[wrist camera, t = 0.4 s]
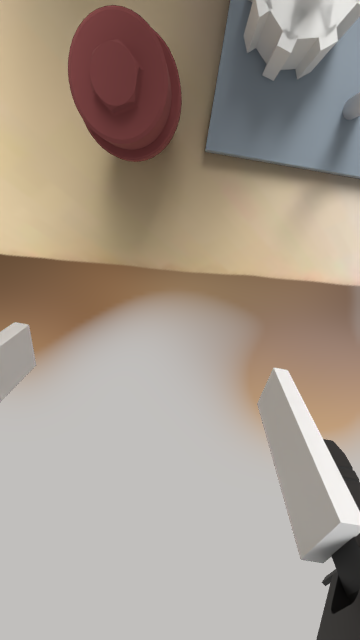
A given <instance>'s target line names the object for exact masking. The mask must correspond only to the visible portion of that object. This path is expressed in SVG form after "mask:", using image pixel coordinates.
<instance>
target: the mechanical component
mask: <svg viewBox="0 0 360 640" xmlns="http://www.w3.org/2000/svg"><path fill="white" fill-rule="evenodd" d="M68 76H69V84H70V89H71V93H72V96H73V100H74V102H75V105H76V107H77V109H78V111H79V113H80V115H81V117H82V118H83V120H84V122H85V125H86V127H87V129H88V130H89V132H90V133H91V135H92V136H93V138H94V139H95V140H96V142H97V143H98V144H99V145H100V146H101V147H102V148H103V149H105V150H106V151H107V152H109V153H110V154H112V155H114V156H116V157H118V158H120V159H123V160H126V161H133V162H138V161H144V160H148V159H150V158H153V157H154V156H156V155H157V154H159V153H160V152H161V151H162V150H163V149H164V148H165V147H166V146H167V145H168V144H169V142H170V140H171V139H172V137H173V135H174V133H175V131H176V129H177V126H178V122H179V119H180V113H181V104H182V97H181V86H180V79H179V74H178V70H177V67H176V63H175V60H174V58H173V56H172V54H171V52H170V50H169V48H168V46H167V45H166V43H165V42H164V40H163V39H162V38H161V37H160V36H159V34H158V33H156V32H155V31H154V30H153V29H152V28H151V27H150V26H149V24H148V23H147V22H146V21H145V20H144V19H143V18H142V17H141V16H140V15H138V14H137V13H135V12H134V11H132V10H130V9H128V8H125V7H123V6H116V5H111V6H104V7H101V8H98V9H96V10H95V11H93V12H92V13H90V14H89V15H88V16H87V17H86V18H85V19H84V20H83V21H82V23H81V24H80V25H79V27H78V28H77V31H76V33H75V35H74V37H73V40H72V43H71V46H70V52H69V58H68Z"/></svg>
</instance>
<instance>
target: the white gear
mask: <svg viewBox="0 0 360 640" xmlns="http://www.w3.org/2000/svg"><path fill="white" fill-rule="evenodd" d="M249 1H251V2H252V6H251V10H250V14H249V17H248V21H247V25H246V28H245V32H244V40H245V45H246V49H247V53H249V52H250V51H252V50H253V49H255V48H256V49H257V50H258V52H259V53H260V55H261V56H262V58H263V59H264V61H265V63H266V67H265V69H264V72H263V74H262V75H263V76H265V77H267V78H269V79H270V80H272V81H274V79H275V78H276V76H277V75H278V73H279V72H280V70H289V69H295V70H296V76H297V79H299V78H301V77H303V76H304V75H306V74H308V73H310V72H311V71H312V70H313V69H314V68H315V67H316V65H317V64H318V63H319V62H320V61H321V60H322V59H323V57H324V56H325V55H326V54H327V53H328V52H329V51H330V49H331V48H332V47H333V46H334V45H335V44H336V43H337V42H338V40H339V39H340V38H341V37H342V36H343V35H344V34H345V32H346V31H347V30H348V29H349V28H350V27H351V26H352V25H353V23H354V22H355V21H356V20H357V19H358V18H359V17H360V0H249Z"/></svg>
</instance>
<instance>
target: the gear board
mask: <svg viewBox="0 0 360 640" xmlns="http://www.w3.org/2000/svg"><path fill="white" fill-rule="evenodd" d="M251 6H252V2H251V1H249V0H230V5H229V11H228V17H227V23H226V29H225V35H224V41H223V47H222V53H221V59H220V65H219V71H218V77H217V83H216V89H215V95H214V101H213V107H212V113H211V119H210V125H209V131H208V137H207V143H206V149H205V152H209V153H215V154H221V155H227V156H232V157H238V158H244V159H249V160H255V161H261V162H267V163H272V164H278V165H284V166H289V167H295V168H301V169H307V170H312V171H318V172H324V173H329V174H335V175H341V176H347V177H352V178H358V179H360V17H359V18H358V19H357V20H356V21H355V22H354V23H353V25H352V26H351V27H350V28H349V29H348V30H347V31H346V32H345V34H344V35H343V36H342V37H341V38H340V39H339V40H338V42H337V43H336V44H335V45H334V46H333V47H332V48H331V49H330V51H329V52H328V53H327V54H326V55H325V56H324V57H323V59H322V60H321V61H320V62H319V63H318V64H317V65H316V67H315V68H314V69H313V70H312V71H311V72H310V73H308V74H306V75H304V76H303V77H301V78H299V79H297V76H296V70H295V69H289V70H280V72H279V73H278V75H277V76H276V78H275V79H274V81H272V80H270V79H269V78H267V77H265V76H263V75H262V74H263V72H264V69H265V67H266V63H265V61H264V59H263V58H262V56H261V55H260V53H259V52H258V50H257V49H256V48H255V49H253V50H252V51H250V52H249V53H247V49H246V45H245V40H244V32H245V28H246V25H247V21H248V17H249V14H250V10H251Z"/></svg>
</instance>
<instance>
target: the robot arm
mask: <svg viewBox="0 0 360 640" xmlns="http://www.w3.org/2000/svg"><path fill="white" fill-rule="evenodd" d="M35 366H36V362H35V357H34V351H33V345H32V339H31V334H30V328H29V325H27V324H21V323H15V322H14V323H13V324H11V325H10V326H8V327H7V328H5V329H4V330H3V331H1V332H0V402H1V401H2V400H3V399H4V398H5V397H6V396H7V395H8V394H9V393H10V392H11V391H12V390H13V389H14V388H15V386H17V385H18V384H19V382H20V381H21V380H22V379H23V378H24V377H25V376H26V375H27V374H28V373H29V372H30V371H31V370H32V369H33V368H34V367H35ZM257 405H258V408H259V412H260V415H261V419H262V423H263V426H264V430H265V433H266V437H267V440H268V444H269V448H270V451H271V455H272V458H273V462H274V466H275V469H276V473H277V476H278V480H279V483H280V487H281V491H282V494H283V498H284V501H285V505H286V508H287V512H288V516H289V519H290V523H291V526H292V530H293V533H294V537H295V541H296V544H297V548H298V552H299V555H300V559H301V560H307V561H313V562H319V563H324V562H325V561H326V560H328V559H329V558H330V557H331V556H332V558H333V561H334V564H335V567H336V569H335V570H334V571H333V572H331V573H330V574H329V575H327V576H326V577H325V579H324V580H323V582H322V583H323V584H324V585H325V586H326V585H328V584H329V583H330V587H329V592H328V595H327V599H326V604H325V607H324V611H323V615H322V620H321V624H320V628H319V632H318V636H317V640H360V482H359V479H358V477H357V475H356V473H355V471H353V470H352V466H351V464H350V463H349V461H348V459H347V457H346V455H345V454H344V453H343V452H342V450H341V449H340V448H339V447H338V446H337V445H336V444H335V443H334V442H333V441H331V440H325V439H323V438H322V436H321V435H320V433H319V431H318V429H317V427H316V425H315V423H314V421H313V419H312V417H311V415H310V413H309V411H308V409H307V407H306V405H305V403H304V401H303V399H302V397H301V395H300V393H299V391H298V390H297V388H296V385H295V383H294V381H293V380H292V378H291V376H290V374H289V372H288V370H284V369H278V368H273V370H272V372H271V375H270V377H269V379H268V381H267V384H266V386H265V388H264V390H263V392H262V394H261V397H260V399H259V401H258V404H257Z"/></svg>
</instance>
